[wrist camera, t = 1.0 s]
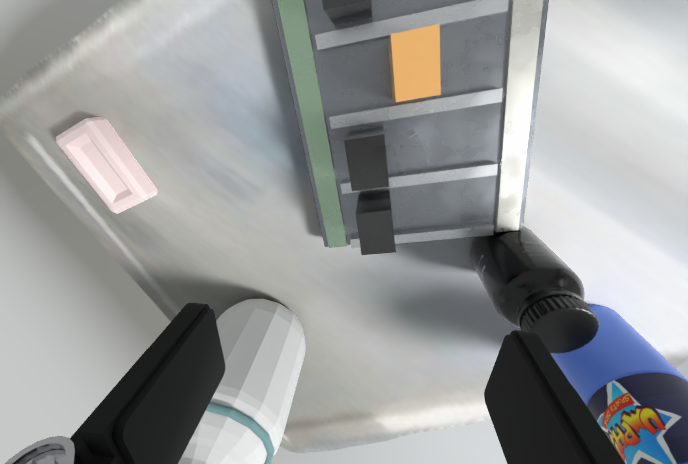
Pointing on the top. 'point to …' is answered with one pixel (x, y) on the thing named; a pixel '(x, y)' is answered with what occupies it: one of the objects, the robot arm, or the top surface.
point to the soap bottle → (250, 386)
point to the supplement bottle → (534, 289)
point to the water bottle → (630, 392)
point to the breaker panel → (414, 117)
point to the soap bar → (106, 163)
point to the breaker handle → (415, 63)
